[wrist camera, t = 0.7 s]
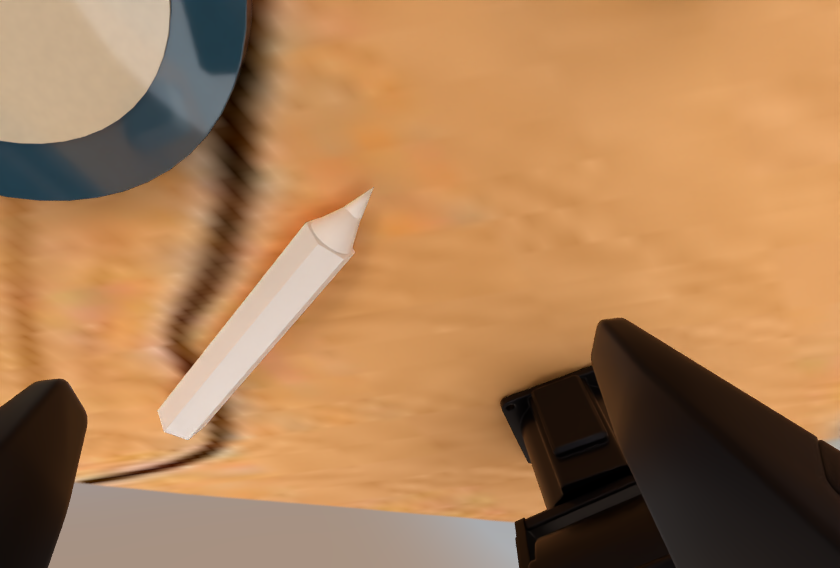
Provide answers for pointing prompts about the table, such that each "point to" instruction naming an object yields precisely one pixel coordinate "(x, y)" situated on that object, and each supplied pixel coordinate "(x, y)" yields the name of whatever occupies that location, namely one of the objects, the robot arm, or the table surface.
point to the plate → (111, 89)
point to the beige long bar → (263, 318)
